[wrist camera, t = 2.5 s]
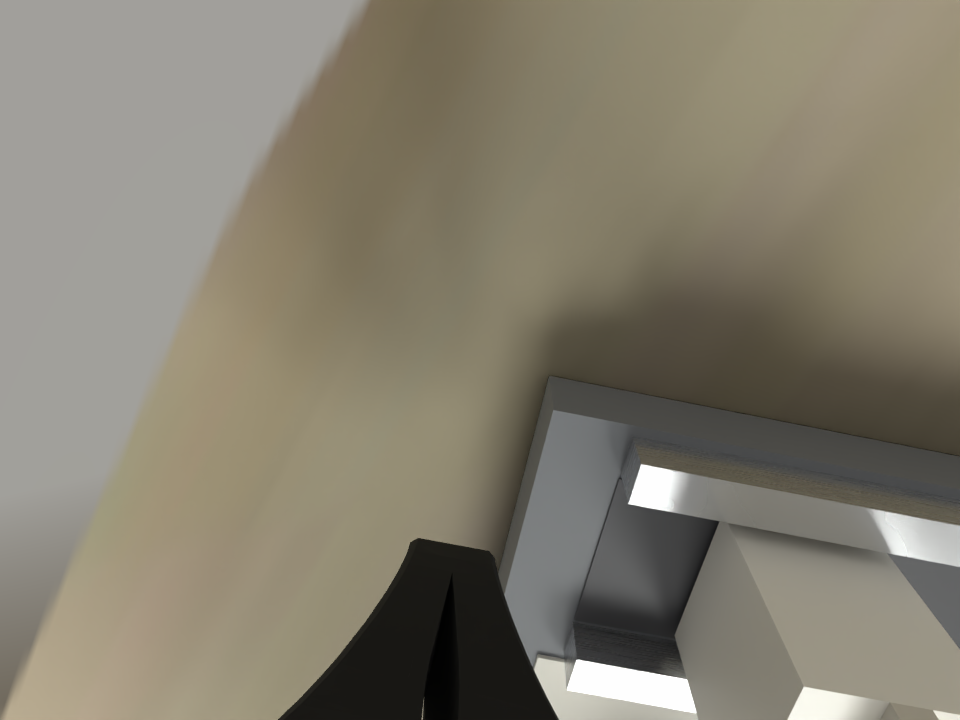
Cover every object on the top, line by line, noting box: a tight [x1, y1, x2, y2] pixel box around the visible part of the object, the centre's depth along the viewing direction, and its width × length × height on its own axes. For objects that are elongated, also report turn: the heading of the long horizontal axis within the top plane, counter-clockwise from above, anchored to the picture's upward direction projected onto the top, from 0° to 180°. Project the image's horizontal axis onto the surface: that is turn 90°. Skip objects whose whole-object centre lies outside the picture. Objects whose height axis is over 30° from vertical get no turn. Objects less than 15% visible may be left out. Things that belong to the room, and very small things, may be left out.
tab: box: [675, 521, 960, 720], centre depth 12 cm, size 3×3×5 cm
